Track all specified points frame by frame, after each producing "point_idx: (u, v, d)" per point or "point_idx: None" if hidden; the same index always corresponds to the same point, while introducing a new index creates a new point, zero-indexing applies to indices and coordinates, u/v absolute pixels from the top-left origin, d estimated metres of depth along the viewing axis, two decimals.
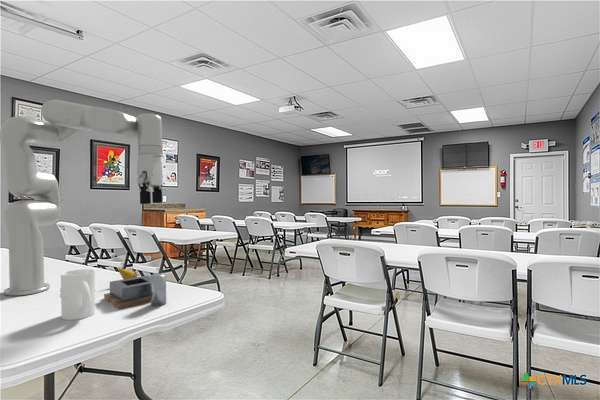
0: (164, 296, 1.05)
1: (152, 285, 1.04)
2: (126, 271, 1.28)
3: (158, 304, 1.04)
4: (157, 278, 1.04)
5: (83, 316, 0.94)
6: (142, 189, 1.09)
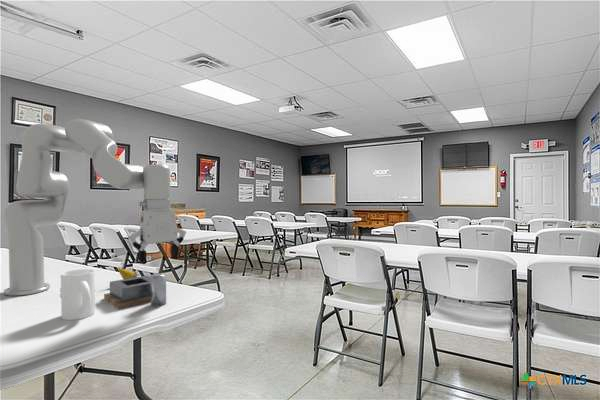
0: (164, 296, 1.05)
1: (152, 285, 1.04)
2: (126, 271, 1.28)
3: (158, 304, 1.04)
4: (157, 278, 1.04)
5: (83, 316, 0.94)
6: None
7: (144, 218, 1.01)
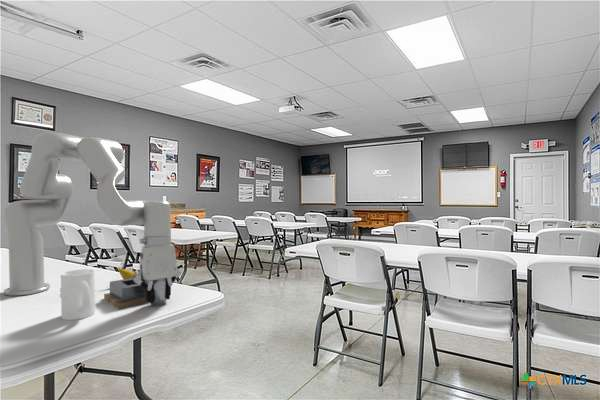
0: (164, 296, 1.05)
1: (152, 285, 1.04)
2: (126, 271, 1.28)
3: (158, 304, 1.04)
4: None
5: (83, 316, 0.94)
6: None
7: (144, 255, 1.01)
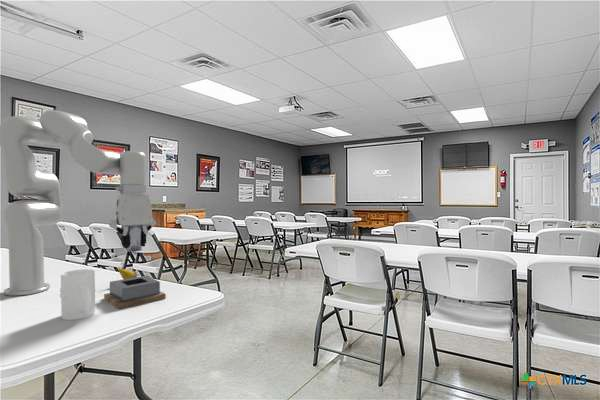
0: (139, 242, 1.11)
1: (128, 231, 1.09)
2: (126, 271, 1.28)
3: (133, 249, 1.09)
4: None
5: (83, 316, 0.94)
6: None
7: (119, 202, 1.06)
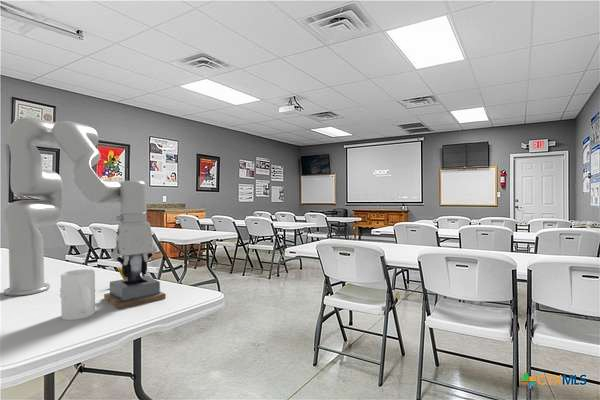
0: (140, 271, 1.11)
1: (128, 260, 1.09)
2: None
3: (134, 278, 1.09)
4: None
5: (83, 316, 0.94)
6: None
7: (120, 232, 1.07)
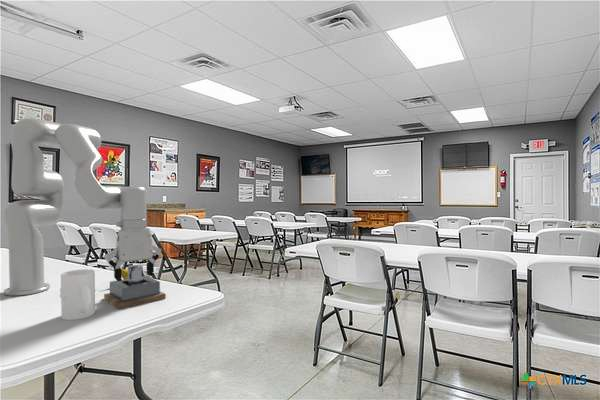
0: None
1: (129, 275, 1.10)
2: (126, 271, 1.28)
3: None
4: (134, 268, 1.10)
5: (83, 316, 0.94)
6: None
7: (120, 238, 1.07)
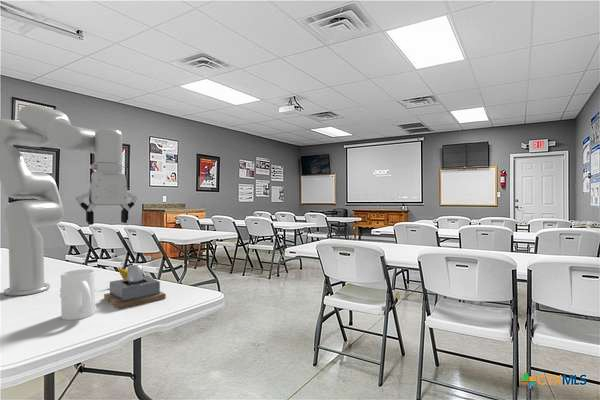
0: None
1: (129, 275, 1.10)
2: (126, 271, 1.28)
3: None
4: (133, 268, 1.10)
5: (83, 316, 0.94)
6: None
7: (93, 180, 1.04)
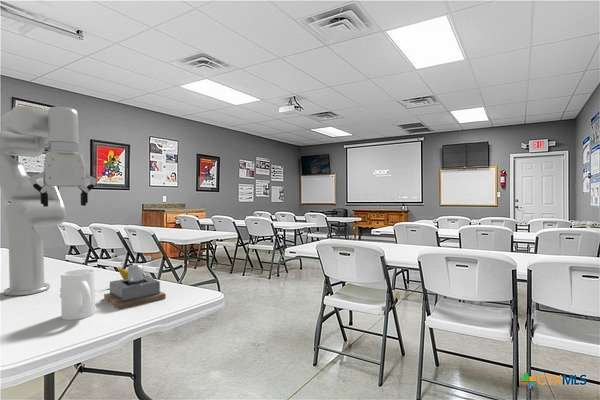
0: None
1: (129, 275, 1.10)
2: (126, 271, 1.28)
3: None
4: (134, 268, 1.10)
5: (83, 316, 0.94)
6: None
7: (46, 160, 1.00)
